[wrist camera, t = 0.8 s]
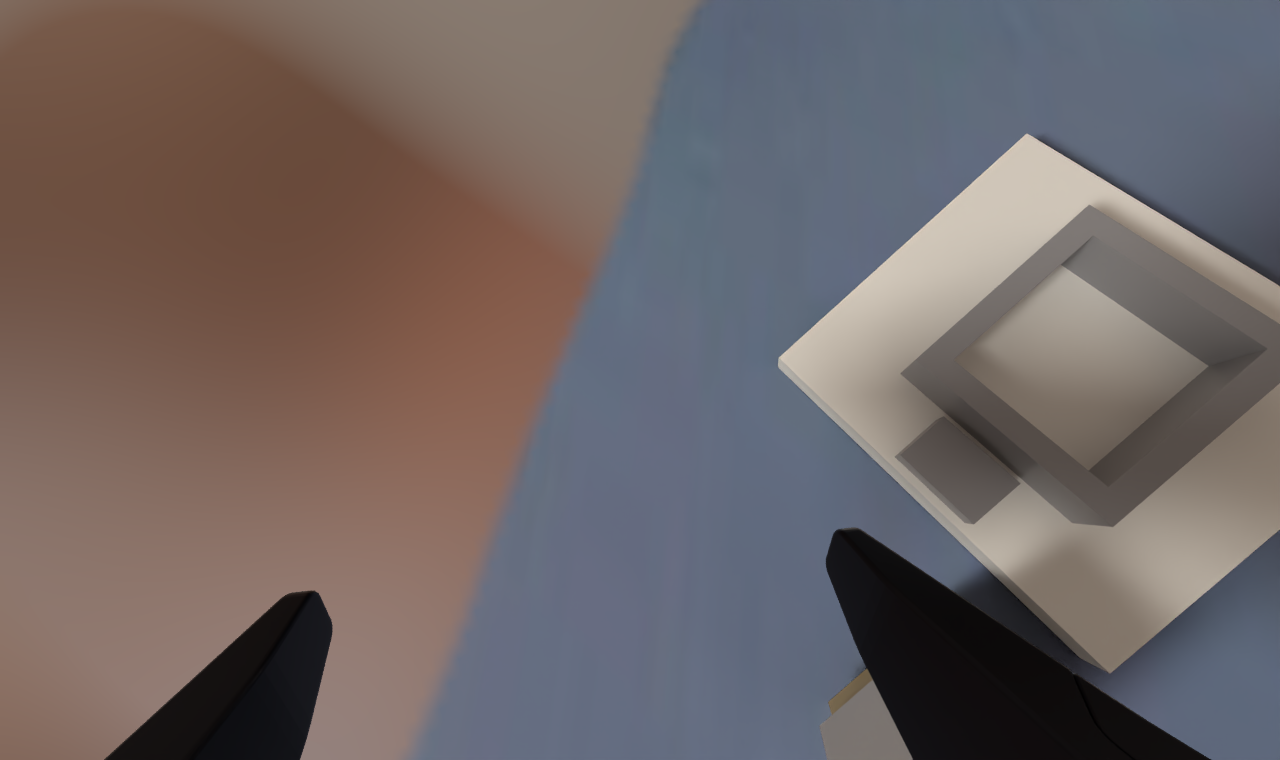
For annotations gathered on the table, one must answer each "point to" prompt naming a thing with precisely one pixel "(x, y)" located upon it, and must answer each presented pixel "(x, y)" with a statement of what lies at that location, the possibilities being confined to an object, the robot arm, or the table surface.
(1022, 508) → the socket plate
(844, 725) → the plug
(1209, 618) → the table surface
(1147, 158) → the table surface
